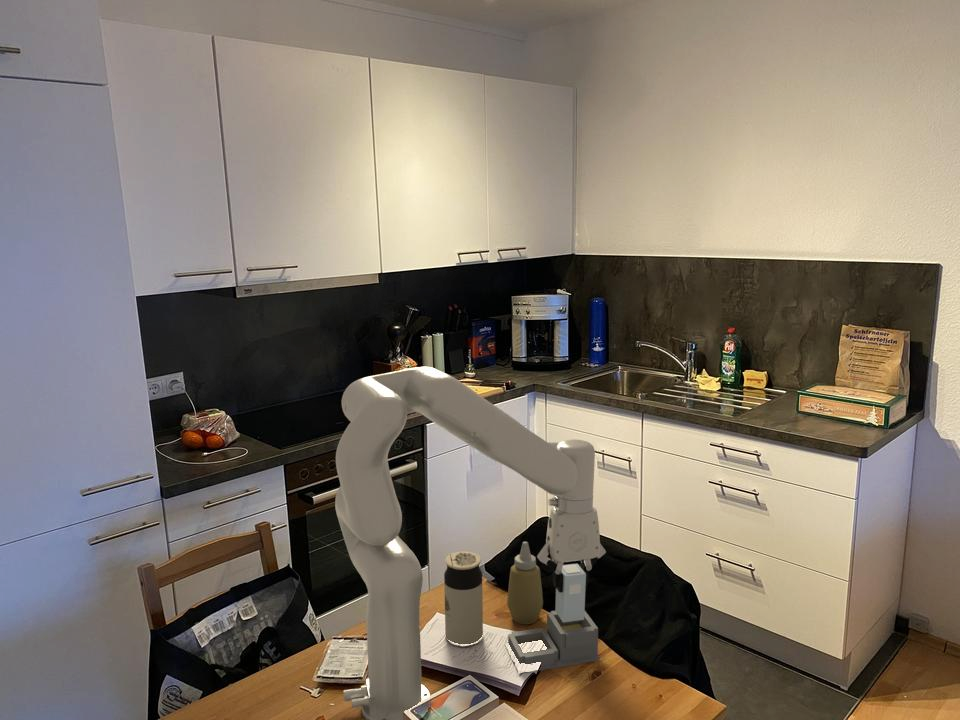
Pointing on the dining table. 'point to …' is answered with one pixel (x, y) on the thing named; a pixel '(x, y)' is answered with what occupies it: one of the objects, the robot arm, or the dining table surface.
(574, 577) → the plug
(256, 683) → the dining table surface
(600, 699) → the dining table surface
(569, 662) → the block
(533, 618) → the squeeze bottle
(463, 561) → the travel mug
